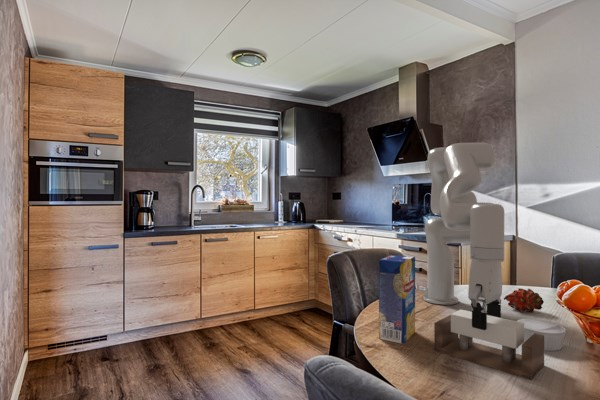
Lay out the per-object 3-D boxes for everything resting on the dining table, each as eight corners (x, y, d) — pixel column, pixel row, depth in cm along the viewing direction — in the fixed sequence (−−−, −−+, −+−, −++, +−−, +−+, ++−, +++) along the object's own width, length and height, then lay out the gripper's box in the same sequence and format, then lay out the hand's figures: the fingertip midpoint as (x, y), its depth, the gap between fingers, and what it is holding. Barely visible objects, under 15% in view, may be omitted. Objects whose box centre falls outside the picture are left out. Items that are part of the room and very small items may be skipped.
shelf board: (450, 331, 95) (450, 314, 95) (460, 326, 99) (460, 309, 99) (516, 348, 84) (516, 329, 84) (524, 341, 89) (524, 322, 89)
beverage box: (415, 331, 109) (415, 256, 109) (403, 344, 100) (403, 262, 100) (392, 327, 113) (392, 254, 113) (378, 338, 104) (378, 259, 104)
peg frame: (434, 350, 96) (434, 322, 96) (451, 339, 103) (451, 314, 103) (532, 379, 80) (532, 347, 80) (544, 365, 87) (544, 335, 87)
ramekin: (567, 357, 92) (567, 335, 92) (515, 347, 98) (515, 327, 98) (564, 342, 102) (564, 322, 102) (517, 334, 108) (517, 316, 108)
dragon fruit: (547, 319, 125) (506, 318, 132) (545, 300, 131) (507, 299, 138) (542, 302, 121) (501, 301, 128) (541, 283, 127) (502, 283, 134)
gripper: (483, 249, 100) (483, 312, 100) (456, 256, 88) (456, 328, 88) (514, 252, 95) (514, 319, 95) (490, 259, 83) (490, 337, 83)
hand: (486, 323), depth 92 cm, fingers open, 9 cm apart
